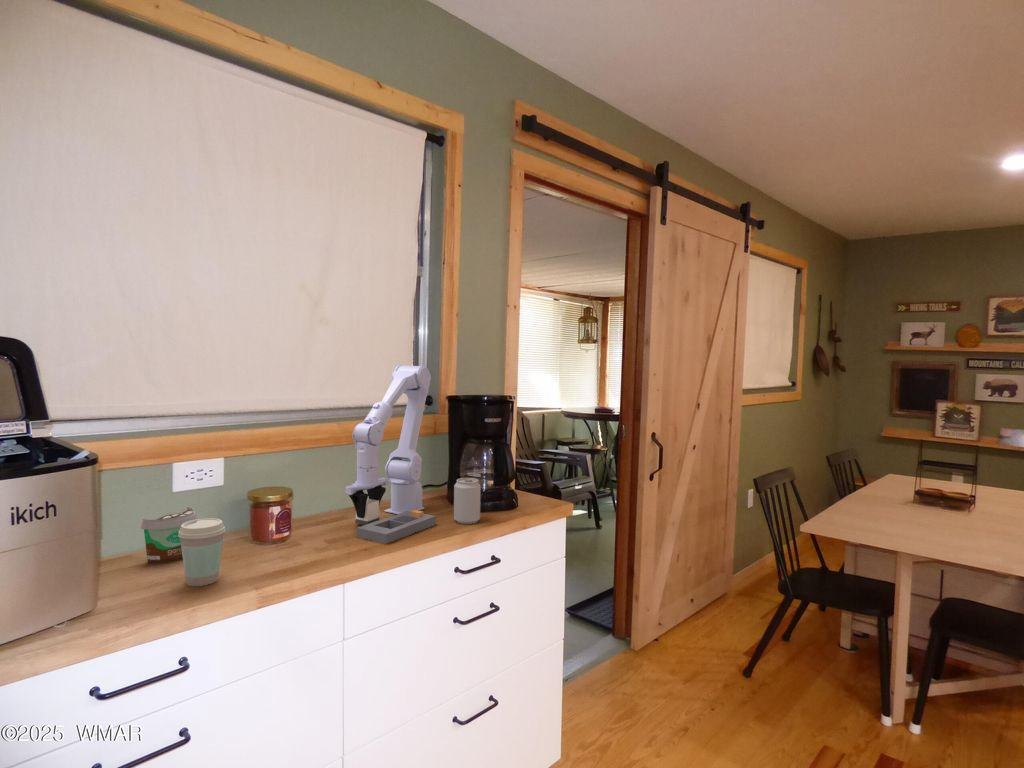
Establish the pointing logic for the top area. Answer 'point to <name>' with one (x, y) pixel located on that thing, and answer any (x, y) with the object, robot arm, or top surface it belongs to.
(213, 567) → the coffee cup
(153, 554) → the food container
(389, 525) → the grey slotted holder
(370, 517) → the plug
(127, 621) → the top surface
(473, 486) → the can
